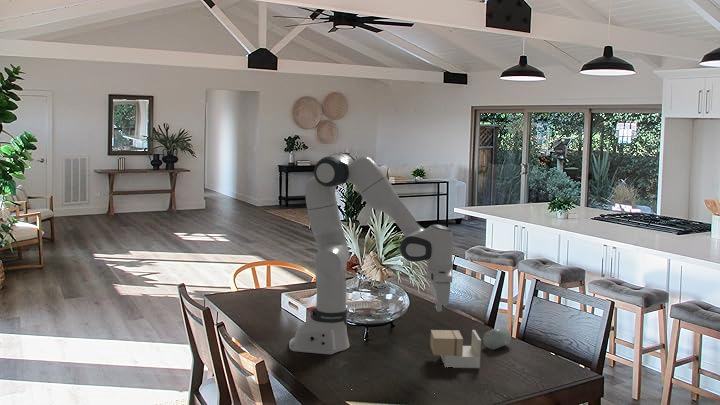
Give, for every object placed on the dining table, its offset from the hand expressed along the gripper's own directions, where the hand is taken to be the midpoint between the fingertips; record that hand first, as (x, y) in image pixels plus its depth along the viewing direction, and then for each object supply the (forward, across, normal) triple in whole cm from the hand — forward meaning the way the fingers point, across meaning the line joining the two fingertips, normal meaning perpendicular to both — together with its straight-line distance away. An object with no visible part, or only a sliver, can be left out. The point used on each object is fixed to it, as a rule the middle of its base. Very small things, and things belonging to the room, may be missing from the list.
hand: (438, 310), depth 229 cm
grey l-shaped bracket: (+19, 0, +8) cm, 20 cm away
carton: (+15, 0, +3) cm, 15 cm away
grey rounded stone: (+15, -14, +22) cm, 30 cm away
